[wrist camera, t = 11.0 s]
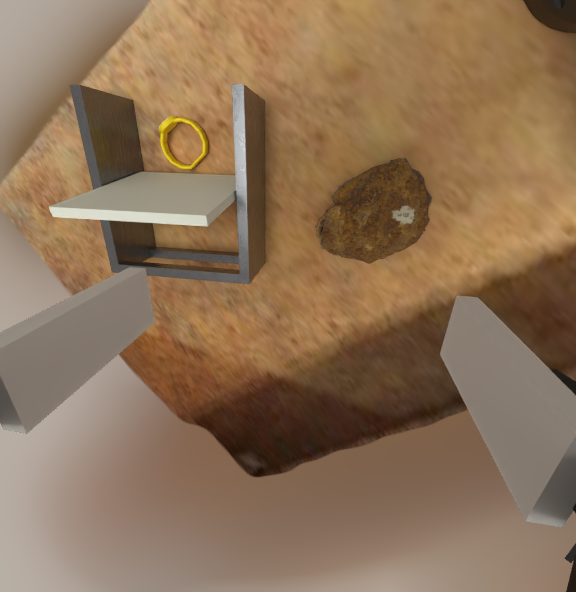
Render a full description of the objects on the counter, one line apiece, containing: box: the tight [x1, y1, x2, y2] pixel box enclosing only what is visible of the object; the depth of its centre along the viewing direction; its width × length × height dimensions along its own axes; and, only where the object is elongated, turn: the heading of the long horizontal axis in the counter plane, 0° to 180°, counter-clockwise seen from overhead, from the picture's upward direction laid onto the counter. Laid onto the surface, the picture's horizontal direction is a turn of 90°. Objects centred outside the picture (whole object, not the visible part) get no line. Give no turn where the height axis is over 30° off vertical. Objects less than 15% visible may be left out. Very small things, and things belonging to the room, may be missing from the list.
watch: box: [158, 115, 208, 169], centre depth 40 cm, size 6×3×6 cm
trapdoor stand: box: [70, 84, 265, 284], centre depth 39 cm, size 19×21×9 cm
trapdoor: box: [49, 172, 237, 226], centre depth 35 cm, size 16×16×1 cm
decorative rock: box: [316, 158, 432, 264], centre depth 40 cm, size 11×4×15 cm
